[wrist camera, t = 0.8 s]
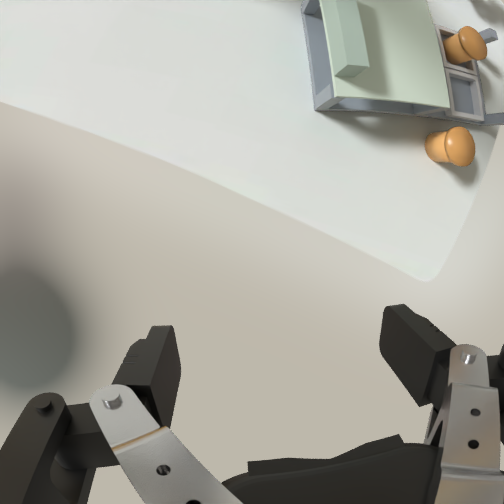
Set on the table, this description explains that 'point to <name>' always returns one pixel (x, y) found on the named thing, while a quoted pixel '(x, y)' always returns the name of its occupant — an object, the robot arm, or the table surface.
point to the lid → (384, 51)
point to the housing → (459, 91)
